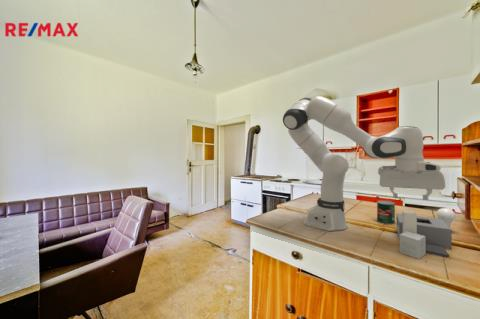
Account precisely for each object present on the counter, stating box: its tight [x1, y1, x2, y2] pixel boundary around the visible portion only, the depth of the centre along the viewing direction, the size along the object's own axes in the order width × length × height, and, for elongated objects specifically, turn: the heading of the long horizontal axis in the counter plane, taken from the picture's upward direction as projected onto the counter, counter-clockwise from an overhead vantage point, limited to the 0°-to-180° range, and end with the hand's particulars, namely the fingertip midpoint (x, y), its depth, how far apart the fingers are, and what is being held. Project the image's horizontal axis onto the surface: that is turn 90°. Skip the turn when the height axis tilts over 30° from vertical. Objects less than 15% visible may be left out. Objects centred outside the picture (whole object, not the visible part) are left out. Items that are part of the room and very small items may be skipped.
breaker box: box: [395, 213, 453, 250], centre depth 86 cm, size 16×14×8 cm
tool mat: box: [425, 244, 450, 259], centre depth 75 cm, size 7×7×1 cm
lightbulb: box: [436, 207, 457, 228], centre depth 92 cm, size 6×6×11 cm
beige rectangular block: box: [402, 210, 418, 234], centre depth 80 cm, size 4×4×14 cm
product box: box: [399, 231, 427, 260], centre depth 74 cm, size 6×6×7 cm
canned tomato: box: [376, 200, 396, 225], centre depth 106 cm, size 8×8×11 cm
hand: (409, 198), depth 79 cm, fingers open, 8 cm apart
